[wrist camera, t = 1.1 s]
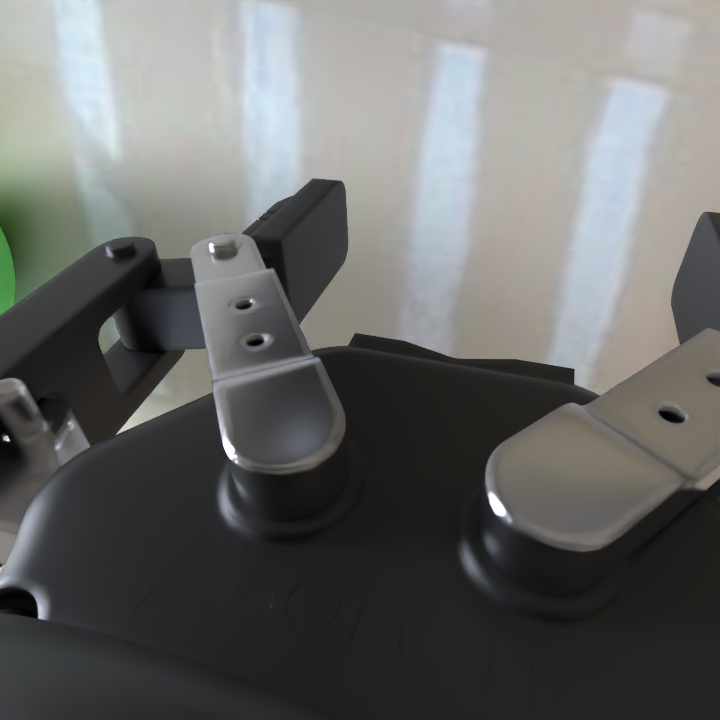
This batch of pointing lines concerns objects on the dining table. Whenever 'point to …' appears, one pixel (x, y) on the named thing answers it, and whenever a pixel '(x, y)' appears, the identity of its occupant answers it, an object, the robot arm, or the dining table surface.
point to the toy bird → (6, 275)
